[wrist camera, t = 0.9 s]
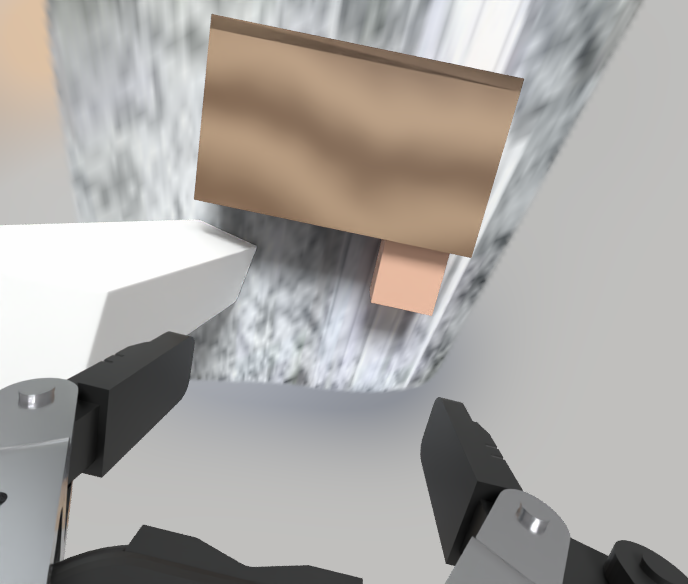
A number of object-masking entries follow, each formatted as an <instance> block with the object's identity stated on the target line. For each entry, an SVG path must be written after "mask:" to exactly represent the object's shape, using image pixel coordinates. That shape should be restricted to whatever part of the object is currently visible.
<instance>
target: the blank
mask: <svg viewBox="0 0 688 584" xmlns="http://www.w3.org/2000/svg"><path fill="white" fill-rule="evenodd" d="M449 254H450V253H446V252H441V251H436V250H432V249H427V248H422V247H417V246H413V245H408V244H403V243H398V242H394V241H389V240H384V239H382V240H381V244H380V248H379V252H378V257H377V261H376V265H375V269H374V274H373V278H372V282H371V286H370V298H371V303H376V304H380V305H385V306H389V307H394V308H399V309H403V310H408V311H412V312H417V313H421V314H426V315H430V316H432V314H433V310H434V307H435V303H436V300H437V296H438V293H439V289H440V286H441V282H442V279H443V275H444V272H445V268H446V265H447V261H448V258H449Z"/></svg>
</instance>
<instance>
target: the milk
mask: <svg viewBox="0 0 688 584" xmlns="http://www.w3.org/2000/svg"><path fill="white" fill-rule="evenodd" d="M256 249H257V246H256V245H253V244H251V243H249V242H247V241H245V240H243V239H240V238H238V237H236V236H234V235H232V234H229V233H227V232H225V231H223V230H221V229H219V228H216V227H214V226H212V225H210V224H208V223H205V222H203V221H201V220H166V221H131V222H97V223H64V224H31V225H30V224H29V225H0V390H1V389H3V388H5V387H7V386H9V385H12V384H14V383H18V382H21V381H25V380H30V379H37V378H60V379H65V380H67V379H69V378H70V377H72V376H74V375H76V374H78V373H80V372H82V371H84V370H85V369H87V368H89V367H91V366H93V365H95V364H97V363H98V362H100V361H104V359H106V358H108V357H110V356H112V355H115V354H116V353H117V352H119V351H121V350H123V349H125V348H126V347H128V346H131V345H135V344H139V343H143V342H150V341H152V340H153V339H155V338H157V337H159V336H160V335H162V334H164V333H166V332H168V331H171V332H175V333H179V334H183V335H188V334H189V333H191V332H192V331H194V330H195V329H197V328H198V327H199V326H201V325H202V324H204V323H205V322H207V321H208V320H210V319H211V318H213V317H214V316H216V315H217V314H218V313H220V312H221V311H223V310H224V309H226V308H227V307H229V306H230V305H232V304H233V303H235V302H236V300H237V298H238V295H239V292H240V290H241V287H242V285H243V282H244V280H245V277H246V274H247V272H248V269H249V267H250V264H251V262H252V259H253V256H254V254H255V251H256Z"/></svg>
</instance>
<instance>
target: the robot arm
mask: <svg viewBox="0 0 688 584" xmlns="http://www.w3.org/2000/svg"><path fill="white" fill-rule="evenodd" d="M193 351H194V338H193V337H191V336H187V335H183V334H179V333H175V332H171V331H168V332H166V333H164V334H162V335H160V336H159V337H157V338H155V339H153V340H152V341H150V342H143V343H139V344H135V345H131V346H128V347H126V348H125V349H123V350H121V351H119V352H117V353H116V354H115V355H112V356H110V357H108V358H106V359H104V361H100V362H98V363H97V364H95V365H93V366H91V367H89V368H87V369H85V370H84V371H82V372H80V373H78V374H76V375H74V376H72V377H70V378H69V379H67V380H65V379H60V378H37V379H30V380H25V381H21V382H18V383H14V384H12V385H9V386H7V387H5V388H3V389H1V390H0V584H363V579H362V578H358V577H354V576H350V575H346V574H341V573H337V572H334V571H330V570H325V569H321V568H317V567H313V566H309V565H303V566H271V567H249V566H245V565H243V564H241V563H239V562H237V561H236V560H234V559H232V558H231V557H229V556H227V555H226V554H224V553H222V552H220V551H219V550H217V549H215V548H213V547H212V546H210V545H208V544H207V543H205V542H203V541H201V540H200V539H198V538H195V537H191V536H187V535H183V534H179V533H175V532H171V531H167V530H163V529H159V528H155V527H151V526H147V525H143V526H142V527H141V528H140V529H139V531H138V532H137V534H136V535H135V536H134V538H133V539H132V541H131V542H130V544H129V545H120V546H113V547H106V548H101V549H96V550H93V551H88V552H85V553H82V554H79V555H76V556H73V557H70V558H67V559H65V560H64V554H65V545H66V537H67V528H68V520H69V512H70V503H71V495H72V484H73V480H74V479H75V478H76V477H77V476H78V475H80V474H81V473H85V474H89V475H93V476H97V477H103V476H104V475H105V474H106V473H107V472H108V471H109V470H110V469H111V468H112V467H113V466H114V465H115V464H116V463H117V462H118V461H119V460H120V459H121V458H122V457H123V456H124V455H125V454H126V453H127V452H128V451H129V450H130V449H131V448H133V446H135V445H136V444H137V443H138V442H139V441H140V440H141V439H142V438H143V437H144V436H145V435H146V434H147V433H148V432H149V431H150V430H151V429H152V428H153V427H154V426H155V425H156V424H157V423H158V422H159V421H160V420H161V419H162V418H163V417H164V416H165V415H166V414H167V413H168V412H169V411H170V410H171V409H172V408H173V407H174V406H175V405H176V404H177V403H178V402H179V401H180V400H181V399H182V397H183V396H184V394H185V392H186V390H187V387H188V384H189V379H190V372H191V365H192V358H193ZM420 455H421V462H422V466H423V471H424V474H425V479H426V483H427V487H428V491H429V496H430V500H431V504H432V508H433V512H434V516H435V520H436V525H437V528H438V533H439V537H440V541H441V545H442V549H443V553H444V558H445V562H446V564H449V565H454V566H455V567H454V569H453V571H452V572H451V574H450V576H449V578H448V579H447V581H446V583H445V584H688V578H687V577H686V576H685V575H684V574H683V573H682V572H681V571H680V570H679V569H677V568H676V567H675V566H674V565H672V564H671V563H670V562H669V561H667V560H666V559H664V558H663V557H661V556H660V555H658V554H657V553H655V552H653V551H652V550H650V549H648V548H646V547H644V546H641V545H639V544H637V543H634V542H631V541H626V540H621V541H618V542H616V543H615V545H614V547H613V549H612V551H611V553H610V555H609V556H607V555H605V554H603V553H601V552H599V551H597V550H595V549H593V548H590V547H589V546H586V545H584V544H582V543H580V542H578V541H576V540H574V539H572V538H570V533H569V530H568V528H567V526H566V525H565V523H564V521H563V520H562V519H561V518H560V517H559V516H558V514H557V513H556V512H555V511H554V510H553V509H551V508H550V507H549V506H548V505H547V504H545V503H544V502H542V501H541V500H539V499H538V498H536V497H534V496H533V495H530V494H529V493H526V492H524V491H523V490H522V488H521V487H520V485H519V483H518V481H517V480H516V478H515V477H514V475H513V473H512V471H511V470H510V468H509V466H508V465H507V463H506V461H505V460H503V456H502V454H501V453H500V451H499V449H497V446H496V444H495V443H494V441H493V439H492V438H491V436H490V434H489V433H488V432H487V431H486V430H484V429H483V428H482V427H481V426H480V425H479V424H478V423H477V422H473V421H472V419H471V417H470V416H469V414H468V412H467V410H466V408H465V406H464V405H463V403H461V402H457V401H453V400H448V399H445V398H440V397H438V398H437V399H436V400H435V403H434V405H433V408H432V411H431V414H430V417H429V421H428V423H427V426H426V429H425V433H424V436H423V439H422V443H421V454H420Z"/></svg>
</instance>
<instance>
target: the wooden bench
mask: <svg viewBox="0 0 688 584" xmlns="http://www.w3.org/2000/svg"><path fill="white" fill-rule="evenodd" d="M523 81H524V79H523V78H518V77H514V76H509V75H504V74H499V73H494V72H489V71H485V70H480V69H475V68H470V67H465V66H460V65H456V64H451V63H446V62H441V61H436V60H431V59H427V58H422V57H417V56H412V55H407V54H402V53H398V52H393V51H388V50H383V49H378V48H373V47H369V46H364V45H359V44H354V43H349V42H344V41H340V40H335V39H330V38H325V37H320V36H315V35H311V34H306V33H301V32H296V31H291V30H286V29H281V28H277V27H272V26H267V25H262V24H257V23H252V22H248V21H243V20H238V19H233V18H228V17H223V16H219V15H214V14H211V25H210V35H209V46H208V56H207V67H206V78H205V88H204V99H203V109H202V120H201V130H200V141H199V152H198V162H197V173H196V183H195V194H194V200H199V201H204V202H208V203H213V204H218V205H223V206H227V207H232V208H237V209H242V210H246V211H251V212H256V213H261V214H265V215H270V216H275V217H280V218H284V219H289V220H294V221H299V222H303V223H308V224H313V225H318V226H322V227H327V228H332V229H337V230H341V231H346V232H351V233H356V234H360V235H365V236H370V237H375V238H379V239H384V240H389V241H394V242H398V243H403V244H408V245H413V246H417V247H422V248H427V249H432V250H436V251H441V252H446V253H451V254H455V255H460V256H465V257H470V258H471V257H472V254H473V250H474V247H475V244H476V240H477V237H478V233H479V230H480V227H481V223H482V220H483V216H484V213H485V210H486V206H487V203H488V200H489V196H490V193H491V189H492V186H493V183H494V179H495V176H496V173H497V169H498V166H499V162H500V159H501V156H502V152H503V149H504V145H505V142H506V139H507V135H508V132H509V129H510V125H511V122H512V118H513V115H514V112H515V108H516V105H517V101H518V98H519V95H520V91H521V88H522V85H523Z"/></svg>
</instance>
